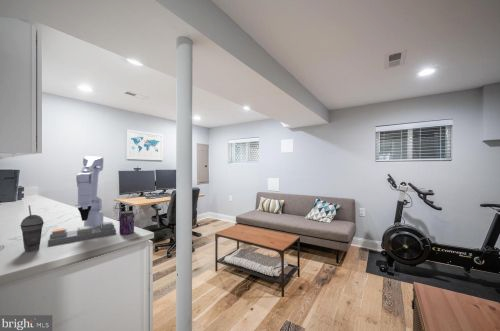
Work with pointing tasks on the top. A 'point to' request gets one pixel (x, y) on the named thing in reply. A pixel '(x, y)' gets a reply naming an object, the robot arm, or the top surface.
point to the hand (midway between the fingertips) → (84, 220)
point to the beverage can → (126, 222)
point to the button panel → (80, 234)
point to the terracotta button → (58, 230)
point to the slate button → (106, 223)
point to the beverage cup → (31, 232)
